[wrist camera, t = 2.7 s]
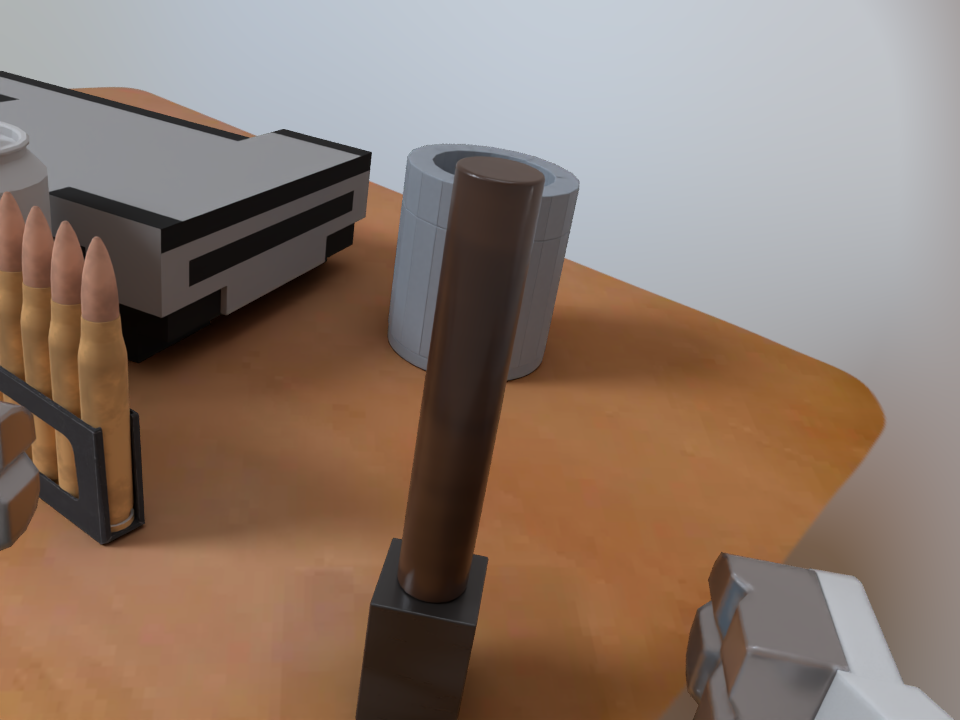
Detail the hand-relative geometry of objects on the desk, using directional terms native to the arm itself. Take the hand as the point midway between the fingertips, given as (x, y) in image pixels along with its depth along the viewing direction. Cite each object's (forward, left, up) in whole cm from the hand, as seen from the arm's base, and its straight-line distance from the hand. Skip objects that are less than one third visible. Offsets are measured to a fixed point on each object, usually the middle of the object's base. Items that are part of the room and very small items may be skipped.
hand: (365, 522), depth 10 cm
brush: (0, -13, -17) cm, 21 cm away
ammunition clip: (+17, -20, -17) cm, 31 cm away
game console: (+29, -43, -17) cm, 54 cm away
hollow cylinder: (+2, -40, -17) cm, 43 cm away
